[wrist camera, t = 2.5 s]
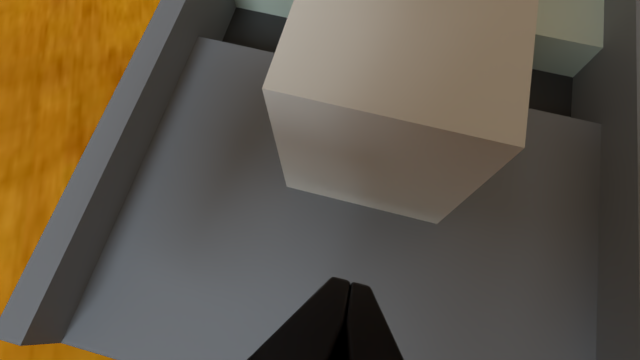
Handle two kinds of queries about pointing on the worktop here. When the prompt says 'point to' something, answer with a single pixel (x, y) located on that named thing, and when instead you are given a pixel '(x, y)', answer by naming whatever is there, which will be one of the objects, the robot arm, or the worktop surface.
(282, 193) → the gray open tray
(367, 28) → the cream block
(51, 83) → the worktop surface
